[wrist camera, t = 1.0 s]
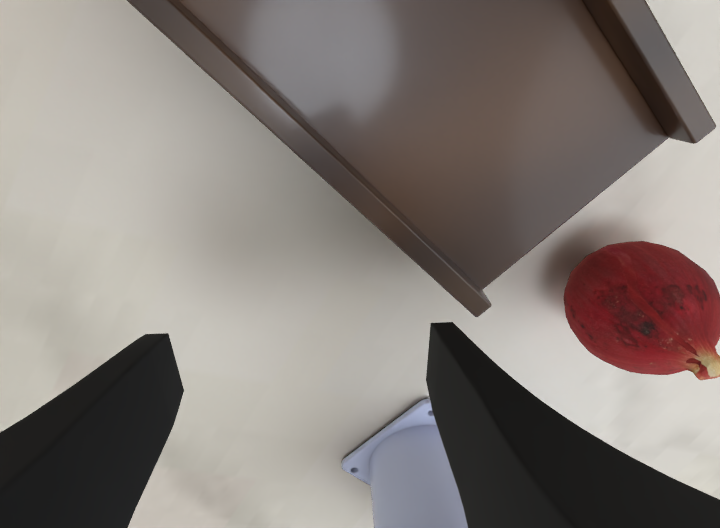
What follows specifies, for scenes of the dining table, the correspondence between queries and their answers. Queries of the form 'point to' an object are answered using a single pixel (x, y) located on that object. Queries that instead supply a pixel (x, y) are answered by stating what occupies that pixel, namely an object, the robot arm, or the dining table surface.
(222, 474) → the dining table surface
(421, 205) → the shelf
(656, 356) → the onion
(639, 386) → the dining table surface
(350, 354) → the dining table surface
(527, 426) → the robot arm
